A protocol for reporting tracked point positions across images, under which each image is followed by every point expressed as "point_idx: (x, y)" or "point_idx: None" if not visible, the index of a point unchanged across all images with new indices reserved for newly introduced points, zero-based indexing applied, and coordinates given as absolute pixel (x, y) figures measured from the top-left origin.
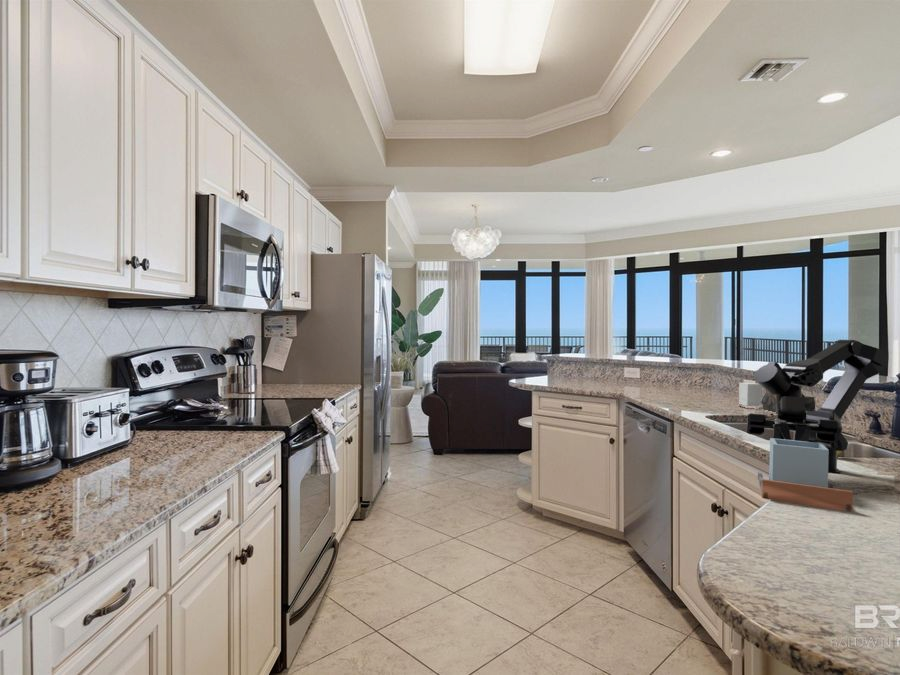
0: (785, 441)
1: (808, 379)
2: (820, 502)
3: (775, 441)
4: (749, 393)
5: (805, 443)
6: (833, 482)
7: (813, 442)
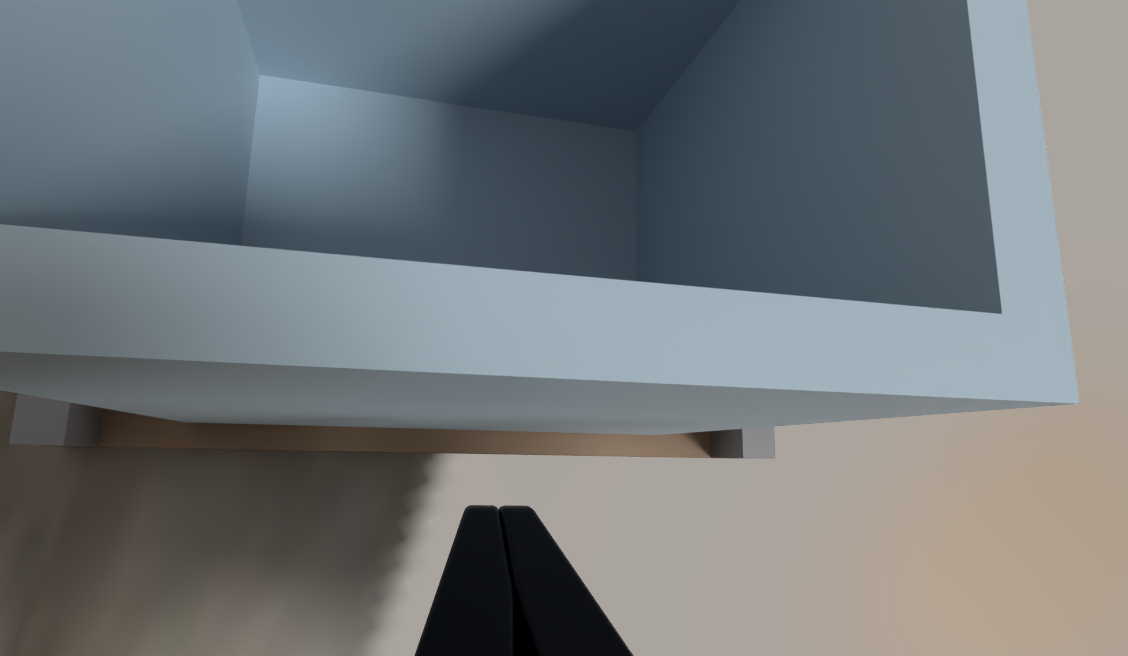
0: (773, 305)
1: None
2: None
3: (971, 1)
4: None
5: (318, 258)
6: (13, 417)
7: (35, 321)
